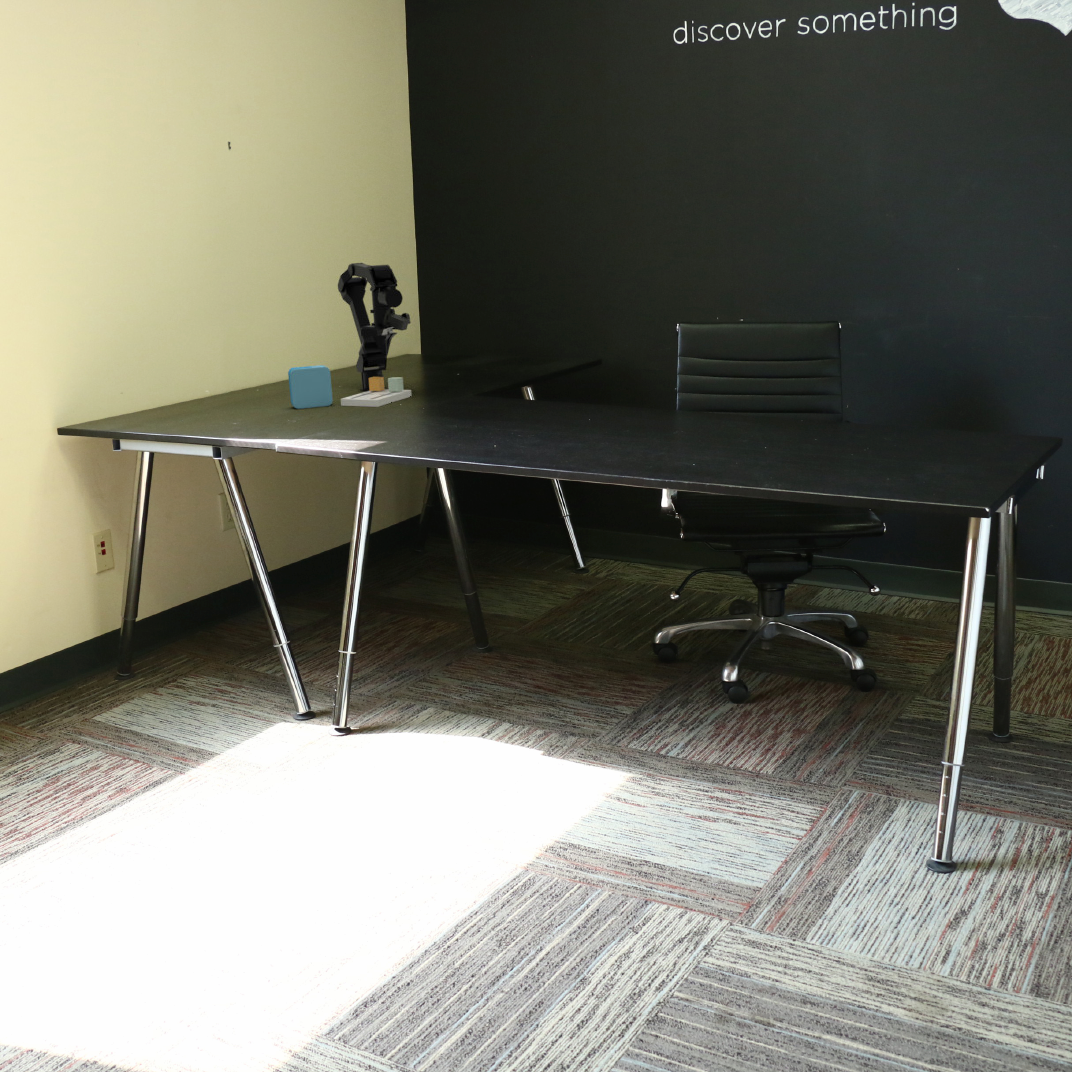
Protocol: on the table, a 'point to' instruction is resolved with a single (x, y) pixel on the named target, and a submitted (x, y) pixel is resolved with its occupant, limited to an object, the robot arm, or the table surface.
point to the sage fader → (395, 384)
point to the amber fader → (376, 383)
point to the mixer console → (375, 398)
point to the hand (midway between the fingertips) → (385, 355)
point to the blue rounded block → (310, 386)
